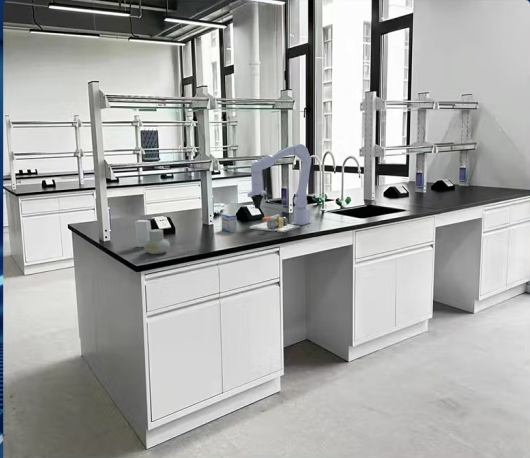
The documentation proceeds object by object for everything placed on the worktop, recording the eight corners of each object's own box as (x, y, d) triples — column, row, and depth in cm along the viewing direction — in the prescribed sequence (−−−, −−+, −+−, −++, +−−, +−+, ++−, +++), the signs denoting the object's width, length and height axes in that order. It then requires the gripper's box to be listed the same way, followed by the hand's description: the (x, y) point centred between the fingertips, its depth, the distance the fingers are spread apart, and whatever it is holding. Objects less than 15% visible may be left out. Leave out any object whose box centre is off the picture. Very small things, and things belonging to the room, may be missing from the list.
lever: (276, 216, 261) (276, 214, 260) (280, 217, 259) (280, 214, 259) (262, 220, 250) (262, 218, 249) (266, 221, 248) (266, 218, 248)
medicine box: (221, 230, 257) (220, 214, 255) (228, 229, 260) (227, 213, 258) (230, 232, 251) (229, 216, 249) (237, 231, 254) (236, 215, 252)
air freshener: (173, 251, 213) (171, 229, 211) (163, 255, 205) (162, 232, 203) (151, 249, 216) (150, 228, 214) (141, 254, 209) (139, 231, 207)
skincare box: (152, 245, 225) (151, 220, 222) (148, 247, 220) (146, 221, 218) (141, 245, 226) (139, 219, 224) (136, 247, 222) (134, 221, 220)
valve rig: (266, 223, 273) (266, 213, 272) (299, 227, 261) (299, 216, 259) (249, 228, 260) (249, 217, 259) (283, 232, 248) (283, 221, 247)
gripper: (258, 182, 272) (259, 206, 275) (242, 185, 261) (243, 209, 264) (269, 183, 268) (269, 207, 271) (253, 185, 257) (253, 210, 260)
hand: (257, 208), depth 267 cm, fingers closed
